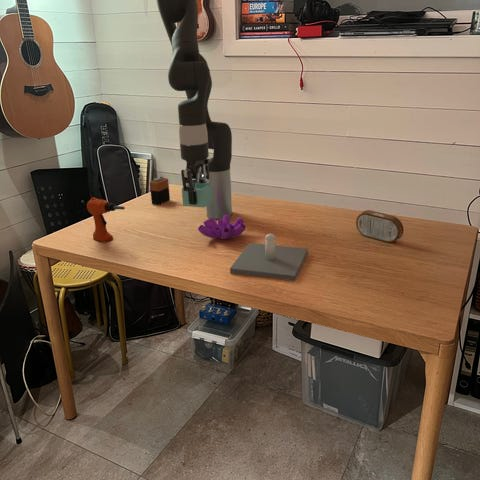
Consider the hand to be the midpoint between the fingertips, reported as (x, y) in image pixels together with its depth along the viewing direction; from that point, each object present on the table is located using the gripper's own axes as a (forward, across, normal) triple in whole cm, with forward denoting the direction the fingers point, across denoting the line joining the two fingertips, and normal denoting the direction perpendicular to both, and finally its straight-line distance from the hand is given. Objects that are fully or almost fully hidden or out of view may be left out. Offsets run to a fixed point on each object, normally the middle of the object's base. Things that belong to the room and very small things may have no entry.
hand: (198, 200), depth 136 cm
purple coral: (+18, -16, +2) cm, 24 cm away
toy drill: (+18, -4, -33) cm, 38 cm away
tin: (+18, -26, +48) cm, 58 cm away
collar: (+1, 0, 0) cm, 1 cm away
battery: (+18, -44, -36) cm, 59 cm away
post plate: (+18, -1, +21) cm, 27 cm away
